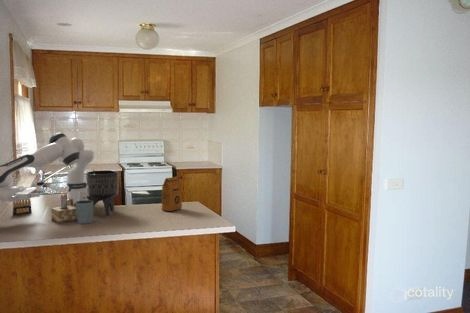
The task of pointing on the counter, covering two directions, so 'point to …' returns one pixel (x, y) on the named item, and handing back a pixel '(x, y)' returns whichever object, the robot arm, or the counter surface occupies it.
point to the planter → (103, 188)
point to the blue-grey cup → (84, 211)
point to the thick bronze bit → (70, 202)
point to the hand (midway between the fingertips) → (41, 193)
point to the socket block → (64, 214)
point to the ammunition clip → (22, 207)
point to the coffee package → (171, 195)
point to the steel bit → (64, 201)
